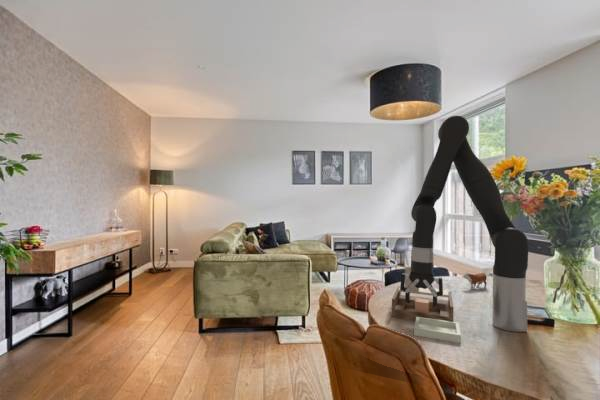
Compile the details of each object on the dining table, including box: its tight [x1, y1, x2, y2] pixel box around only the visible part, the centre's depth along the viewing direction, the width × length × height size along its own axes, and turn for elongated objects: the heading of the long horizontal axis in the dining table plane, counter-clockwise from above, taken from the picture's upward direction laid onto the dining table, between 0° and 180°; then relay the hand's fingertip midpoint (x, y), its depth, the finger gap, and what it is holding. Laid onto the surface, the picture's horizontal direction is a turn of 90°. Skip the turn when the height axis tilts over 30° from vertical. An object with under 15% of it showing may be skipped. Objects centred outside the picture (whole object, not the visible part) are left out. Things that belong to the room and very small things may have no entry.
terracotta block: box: [415, 298, 429, 314], centre depth 114 cm, size 4×4×4 cm
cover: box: [399, 265, 449, 298], centre depth 124 cm, size 18×8×10 cm, turn 67°
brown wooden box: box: [391, 285, 454, 322], centre depth 120 cm, size 20×20×6 cm
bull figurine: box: [462, 271, 488, 291], centre depth 156 cm, size 4×13×8 cm, turn 107°
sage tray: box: [413, 316, 462, 344], centre depth 102 cm, size 13×11×2 cm
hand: (420, 304), depth 115 cm, fingers open, 8 cm apart
